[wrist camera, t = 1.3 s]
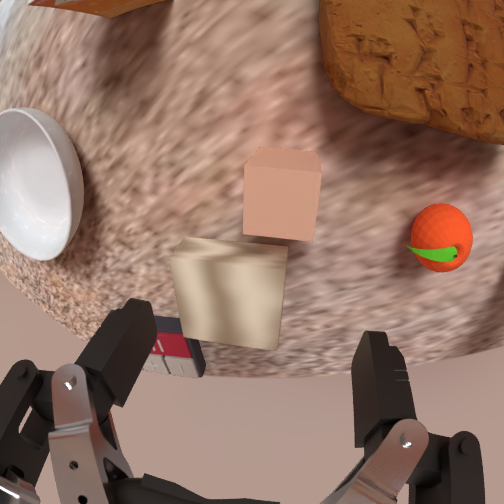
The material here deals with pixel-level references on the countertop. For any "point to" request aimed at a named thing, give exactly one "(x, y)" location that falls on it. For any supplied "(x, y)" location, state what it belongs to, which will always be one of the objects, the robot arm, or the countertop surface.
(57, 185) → the serving bowl
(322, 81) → the countertop surface
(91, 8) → the small box
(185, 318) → the birch block
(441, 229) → the clementine
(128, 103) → the countertop surface
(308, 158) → the terracotta block
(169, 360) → the grey and red box
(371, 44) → the clay tablet
